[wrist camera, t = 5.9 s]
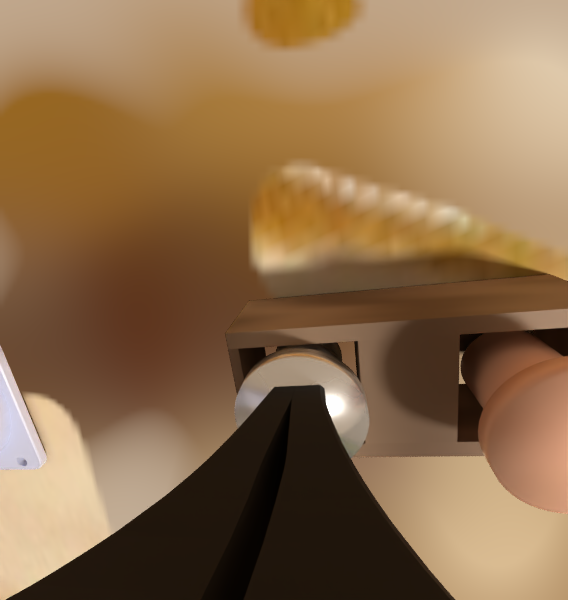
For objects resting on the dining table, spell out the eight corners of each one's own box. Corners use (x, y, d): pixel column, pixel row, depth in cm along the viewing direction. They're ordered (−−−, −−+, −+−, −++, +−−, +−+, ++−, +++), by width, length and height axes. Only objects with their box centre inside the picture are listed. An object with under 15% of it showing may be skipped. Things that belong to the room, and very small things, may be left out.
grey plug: (267, 401, 13) (246, 472, 10) (252, 315, 12) (223, 362, 9) (362, 398, 13) (372, 472, 9) (355, 307, 12) (365, 354, 8)
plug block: (266, 402, 14) (249, 458, 11) (248, 300, 13) (225, 333, 10) (537, 393, 12) (600, 454, 9) (549, 274, 11) (626, 304, 8)
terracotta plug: (440, 416, 11) (485, 512, 8) (440, 313, 10) (493, 374, 7) (562, 412, 11) (667, 515, 7) (576, 303, 9) (708, 364, 6)
